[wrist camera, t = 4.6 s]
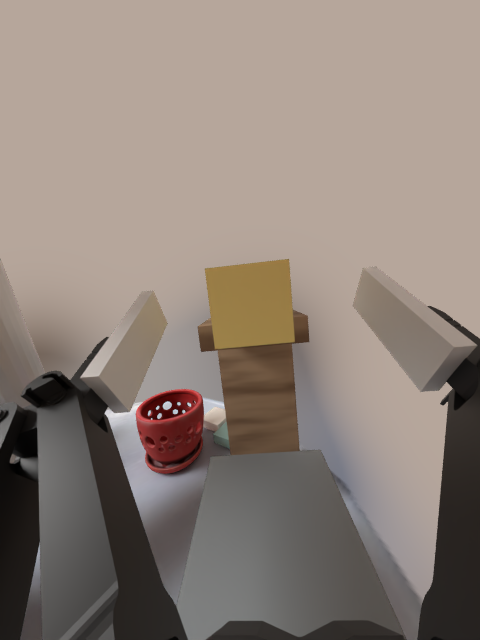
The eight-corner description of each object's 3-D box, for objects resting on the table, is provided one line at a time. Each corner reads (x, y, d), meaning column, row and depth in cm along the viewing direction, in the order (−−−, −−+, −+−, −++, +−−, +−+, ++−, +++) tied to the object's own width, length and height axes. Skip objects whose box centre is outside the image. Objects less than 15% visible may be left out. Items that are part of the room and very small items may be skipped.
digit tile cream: (200, 427, 53) (199, 418, 52) (216, 414, 57) (214, 406, 57) (218, 434, 49) (217, 425, 49) (233, 420, 54) (232, 411, 54)
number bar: (294, 342, 10) (289, 258, 10) (214, 349, 10) (204, 268, 10) (263, 307, 32) (261, 281, 31) (237, 310, 32) (235, 284, 32)
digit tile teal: (214, 444, 46) (213, 434, 46) (229, 427, 51) (228, 419, 51) (236, 453, 43) (235, 442, 43) (250, 434, 48) (249, 425, 48)
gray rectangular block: (427, 993, 9) (436, 705, 7) (213, 975, 10) (153, 704, 8) (329, 609, 21) (320, 449, 18) (232, 611, 21) (210, 456, 19)
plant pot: (166, 496, 35) (155, 431, 33) (134, 460, 43) (123, 408, 42) (221, 447, 44) (214, 395, 43) (186, 426, 53) (179, 382, 51)
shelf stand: (324, 588, 22) (307, 315, 18) (233, 590, 23) (197, 326, 19) (291, 460, 39) (279, 304, 35) (239, 463, 40) (221, 310, 36)
